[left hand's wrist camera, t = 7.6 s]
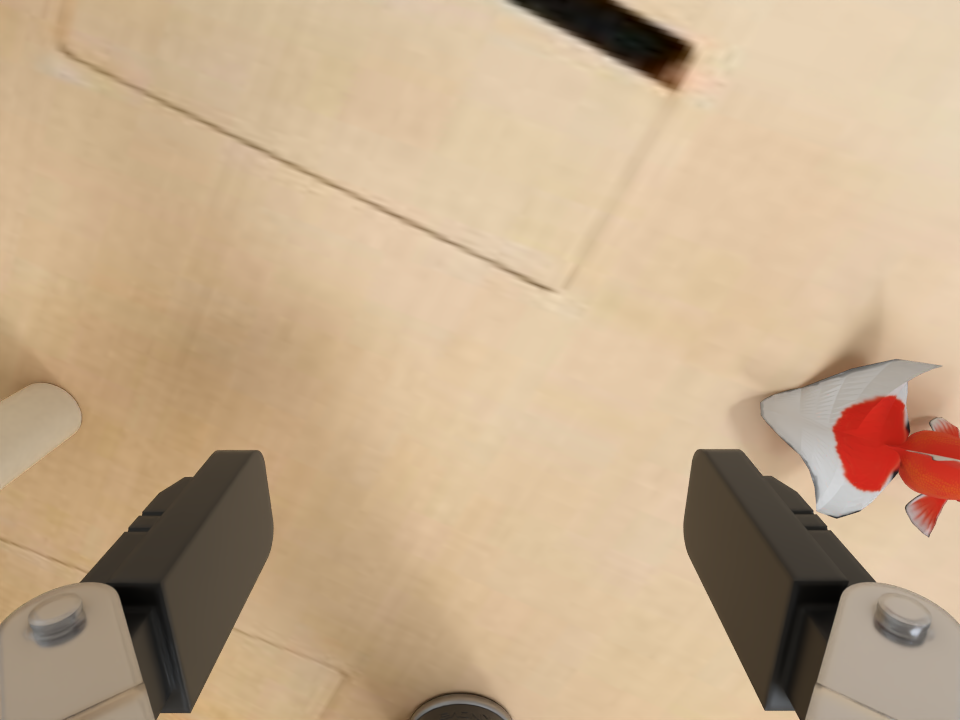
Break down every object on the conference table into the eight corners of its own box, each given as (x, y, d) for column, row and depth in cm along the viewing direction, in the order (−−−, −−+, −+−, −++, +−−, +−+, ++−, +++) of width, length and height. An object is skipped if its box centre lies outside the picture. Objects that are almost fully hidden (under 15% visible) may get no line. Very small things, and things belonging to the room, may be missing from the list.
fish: (912, 588, 41) (1011, 627, 32) (711, 450, 45) (745, 447, 35) (1001, 461, 42) (1126, 461, 32) (795, 334, 45) (851, 299, 36)
